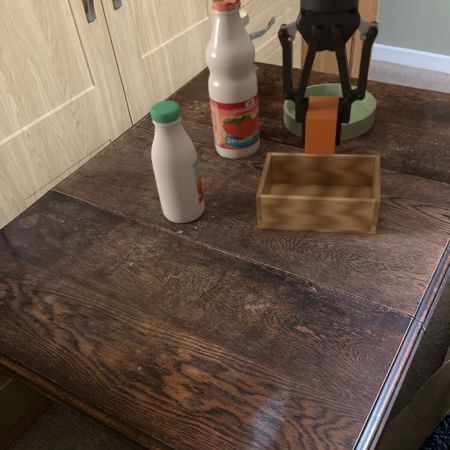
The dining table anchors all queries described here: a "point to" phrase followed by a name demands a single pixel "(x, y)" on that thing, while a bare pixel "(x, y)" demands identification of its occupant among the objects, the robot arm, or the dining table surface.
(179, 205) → the milk bottle
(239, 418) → the dining table surface
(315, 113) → the box
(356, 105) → the bowl
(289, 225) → the holder
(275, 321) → the dining table surface
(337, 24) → the robot arm
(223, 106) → the fruit juice
